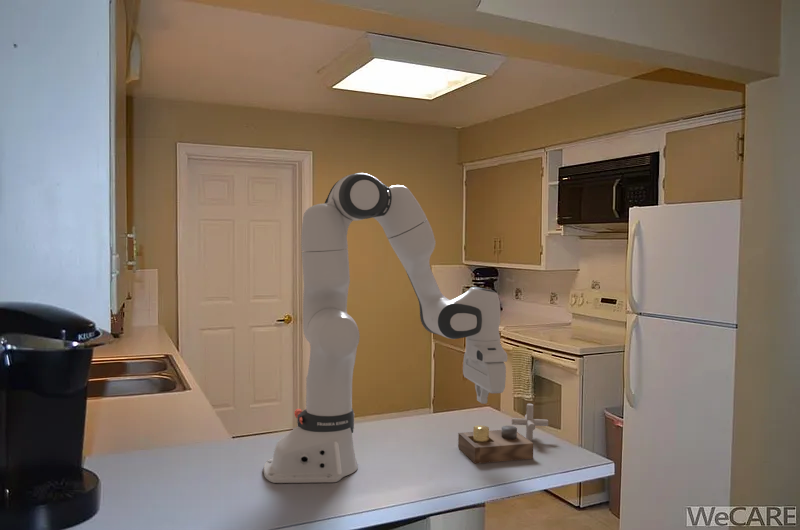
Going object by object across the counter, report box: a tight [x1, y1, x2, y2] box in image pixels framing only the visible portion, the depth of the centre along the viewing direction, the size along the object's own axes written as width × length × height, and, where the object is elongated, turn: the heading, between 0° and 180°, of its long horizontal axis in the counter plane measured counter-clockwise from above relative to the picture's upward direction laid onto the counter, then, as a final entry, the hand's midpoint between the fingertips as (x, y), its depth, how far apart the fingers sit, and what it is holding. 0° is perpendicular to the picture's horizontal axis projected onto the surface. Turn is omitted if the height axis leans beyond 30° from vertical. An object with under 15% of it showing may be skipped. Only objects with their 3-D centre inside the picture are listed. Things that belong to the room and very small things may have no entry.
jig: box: [457, 425, 534, 465], centre depth 158 cm, size 16×12×6 cm
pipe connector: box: [511, 403, 549, 442], centre depth 170 cm, size 10×10×10 cm
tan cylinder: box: [472, 424, 490, 443], centre depth 158 cm, size 4×4×7 cm
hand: (482, 402), depth 157 cm, fingers closed
